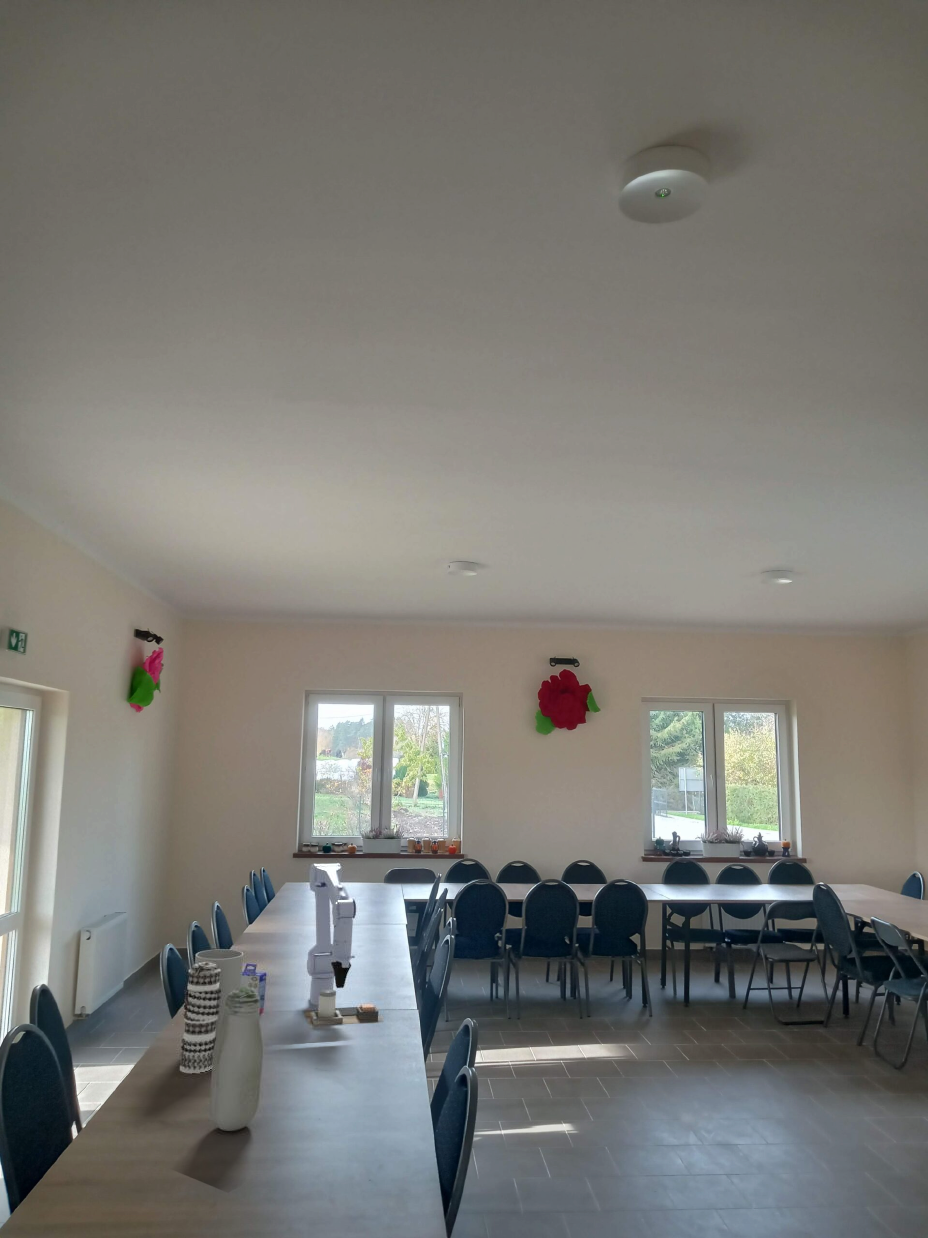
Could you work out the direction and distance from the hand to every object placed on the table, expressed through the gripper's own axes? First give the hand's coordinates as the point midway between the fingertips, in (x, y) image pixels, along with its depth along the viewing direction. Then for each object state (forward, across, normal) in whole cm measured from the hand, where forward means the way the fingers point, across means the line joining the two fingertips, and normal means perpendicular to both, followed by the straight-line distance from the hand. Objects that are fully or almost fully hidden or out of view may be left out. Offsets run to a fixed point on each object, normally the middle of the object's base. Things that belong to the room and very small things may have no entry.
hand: (339, 987), depth 259 cm
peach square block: (+9, 0, -9) cm, 12 cm away
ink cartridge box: (+10, +14, +26) cm, 31 cm away
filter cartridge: (+9, 0, +4) cm, 10 cm away
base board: (+10, +3, -2) cm, 11 cm away
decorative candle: (+10, -30, +42) cm, 53 cm away
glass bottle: (+10, -69, +35) cm, 79 cm away
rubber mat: (+9, +7, -5) cm, 12 cm away
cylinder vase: (+10, -19, +38) cm, 43 cm away
